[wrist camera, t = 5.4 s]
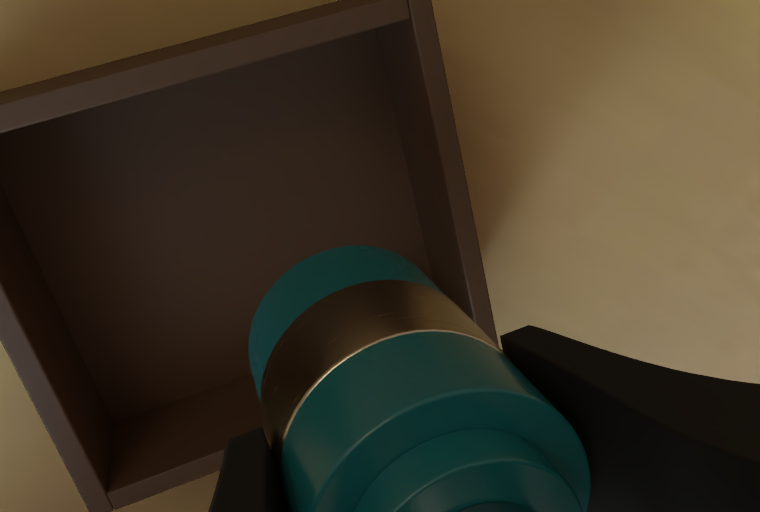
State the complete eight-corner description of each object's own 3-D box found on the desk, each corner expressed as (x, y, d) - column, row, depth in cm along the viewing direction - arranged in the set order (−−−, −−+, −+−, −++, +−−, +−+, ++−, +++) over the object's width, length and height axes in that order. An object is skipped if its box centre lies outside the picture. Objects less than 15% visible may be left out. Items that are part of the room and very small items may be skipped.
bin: (102, 437, 23) (92, 519, 19) (-57, 106, 19) (-108, 132, 15) (452, 310, 25) (502, 362, 21) (382, -11, 21) (429, -14, 17)
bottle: (281, 455, 17) (396, 876, 9) (217, 284, 15) (289, 613, 7) (460, 386, 18) (716, 712, 10) (420, 215, 16) (694, 438, 8)
